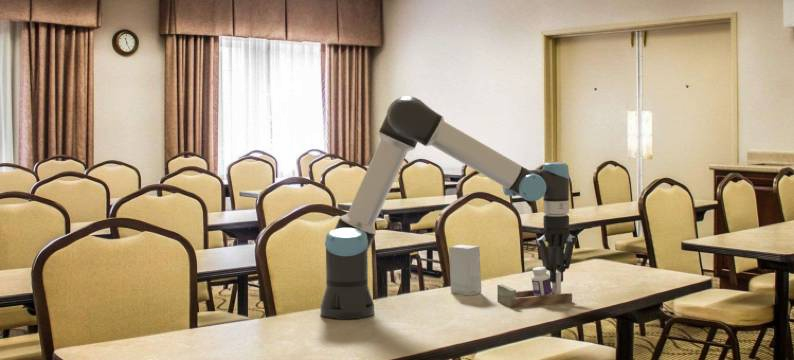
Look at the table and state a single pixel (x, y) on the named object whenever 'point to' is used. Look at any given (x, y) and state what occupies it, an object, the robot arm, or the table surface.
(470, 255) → the skincare box
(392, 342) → the table surface
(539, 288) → the pill bottle
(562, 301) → the rail
